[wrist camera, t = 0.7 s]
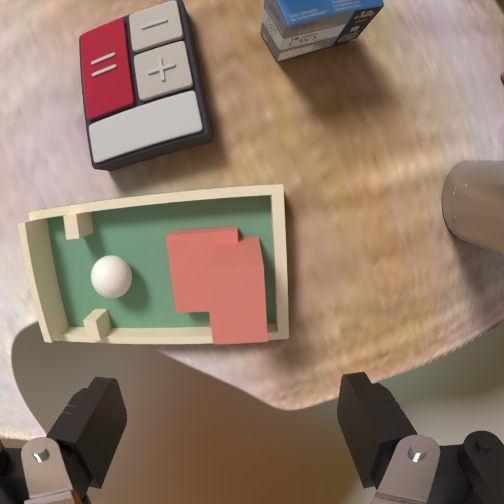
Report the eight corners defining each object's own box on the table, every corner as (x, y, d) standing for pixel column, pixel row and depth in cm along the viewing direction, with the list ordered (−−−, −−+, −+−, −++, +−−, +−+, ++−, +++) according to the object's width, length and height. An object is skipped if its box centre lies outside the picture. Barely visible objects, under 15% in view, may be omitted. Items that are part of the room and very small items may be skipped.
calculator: (180, -7, 21) (209, 132, 24) (188, 14, 26) (215, 141, 28) (75, 32, 22) (88, 169, 24) (92, 47, 26) (108, 172, 29)
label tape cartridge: (276, 65, 26) (292, 0, 14) (259, 33, 25) (265, -40, 13) (355, 41, 26) (406, -17, 13) (338, 12, 25) (378, -54, 13)
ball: (134, 249, 29) (119, 260, 25) (140, 289, 30) (126, 304, 26) (98, 252, 29) (79, 262, 25) (105, 290, 30) (88, 305, 26)
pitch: (279, 183, 29) (286, 185, 24) (285, 324, 32) (291, 349, 27) (44, 209, 29) (16, 215, 24) (67, 329, 32) (47, 348, 27)
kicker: (257, 225, 28) (262, 250, 19) (262, 299, 30) (268, 354, 20) (171, 231, 28) (135, 258, 19) (181, 303, 30) (153, 358, 20)
